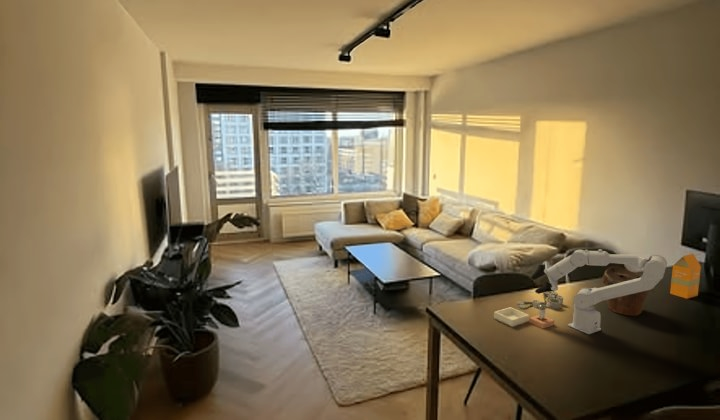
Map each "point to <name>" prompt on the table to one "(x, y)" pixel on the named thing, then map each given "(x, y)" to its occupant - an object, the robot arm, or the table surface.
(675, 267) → the orange juice
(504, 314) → the tray
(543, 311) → the pin
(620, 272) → the terracotta flower pot
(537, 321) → the block
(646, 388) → the table surface
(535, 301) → the pulley system
